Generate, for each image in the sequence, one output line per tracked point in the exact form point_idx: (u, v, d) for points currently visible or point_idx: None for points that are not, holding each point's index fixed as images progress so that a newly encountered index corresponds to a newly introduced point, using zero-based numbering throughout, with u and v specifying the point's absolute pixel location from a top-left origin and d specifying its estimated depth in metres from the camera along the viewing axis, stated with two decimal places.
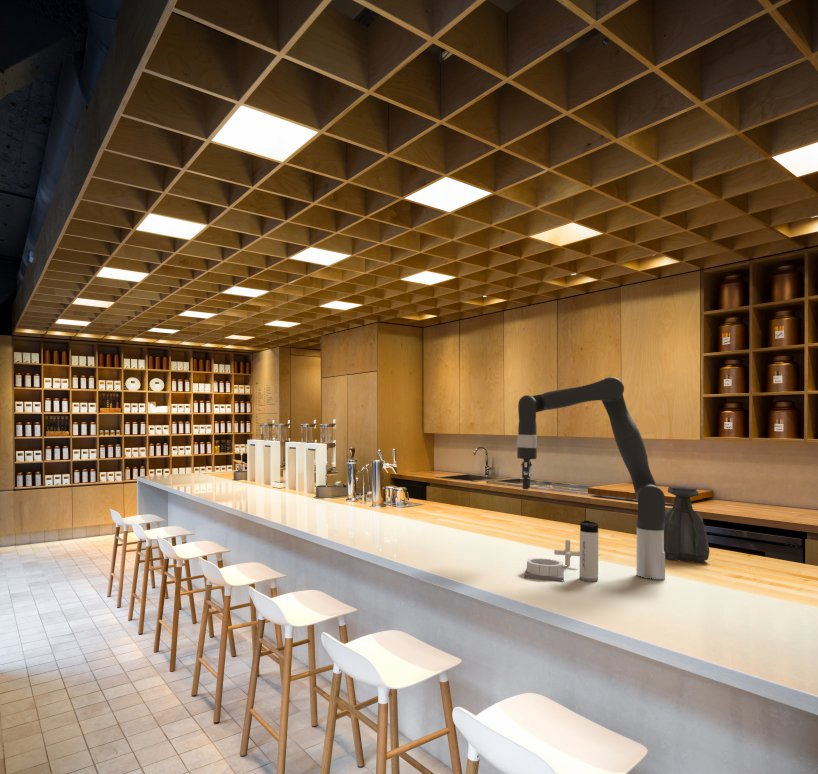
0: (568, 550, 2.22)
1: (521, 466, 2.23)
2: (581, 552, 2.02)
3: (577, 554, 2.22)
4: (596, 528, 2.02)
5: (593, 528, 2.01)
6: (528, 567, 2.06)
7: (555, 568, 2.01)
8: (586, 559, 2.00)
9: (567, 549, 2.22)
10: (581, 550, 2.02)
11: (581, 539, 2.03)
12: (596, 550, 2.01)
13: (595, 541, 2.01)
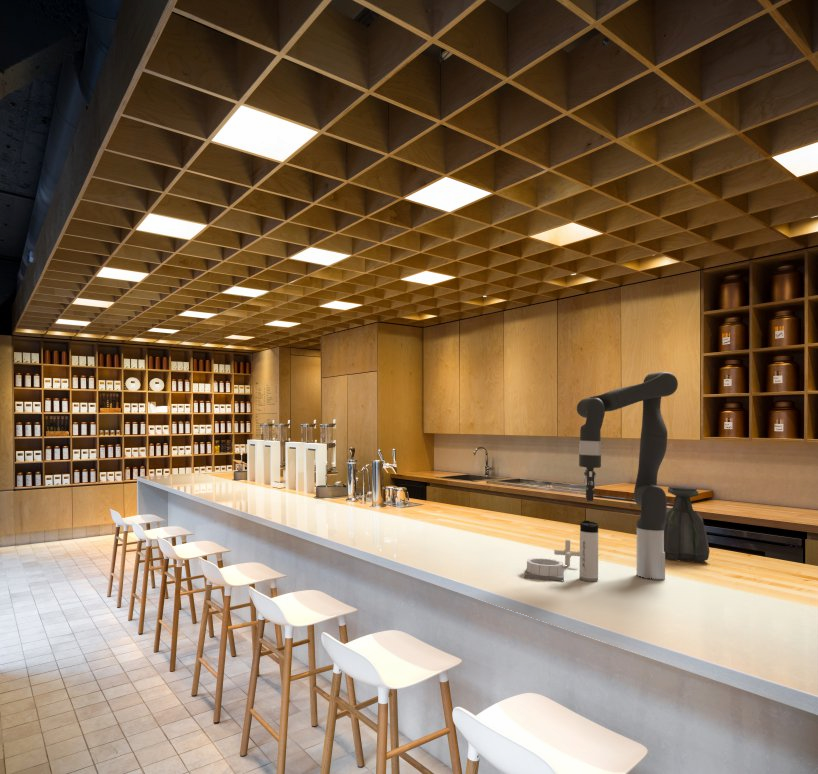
0: (568, 550, 2.22)
1: (584, 475, 2.04)
2: (581, 552, 2.02)
3: (577, 554, 2.22)
4: (596, 528, 2.02)
5: (593, 528, 2.01)
6: (528, 567, 2.06)
7: (555, 568, 2.01)
8: (586, 559, 2.00)
9: (567, 549, 2.22)
10: (581, 550, 2.02)
11: (581, 539, 2.03)
12: (596, 550, 2.01)
13: (595, 541, 2.01)
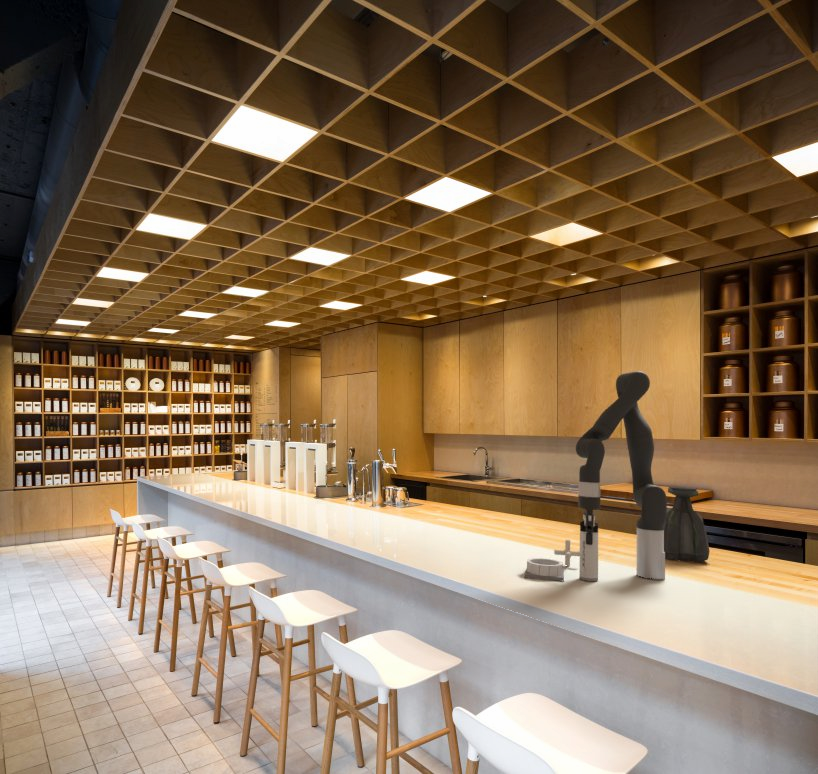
0: (568, 550, 2.22)
1: (583, 517, 2.03)
2: (581, 551, 2.02)
3: (577, 554, 2.22)
4: (596, 528, 2.02)
5: (593, 528, 2.01)
6: (528, 567, 2.06)
7: (555, 568, 2.01)
8: (586, 559, 2.00)
9: (567, 549, 2.22)
10: (581, 550, 2.02)
11: (581, 539, 2.03)
12: (596, 550, 2.01)
13: (595, 541, 2.01)
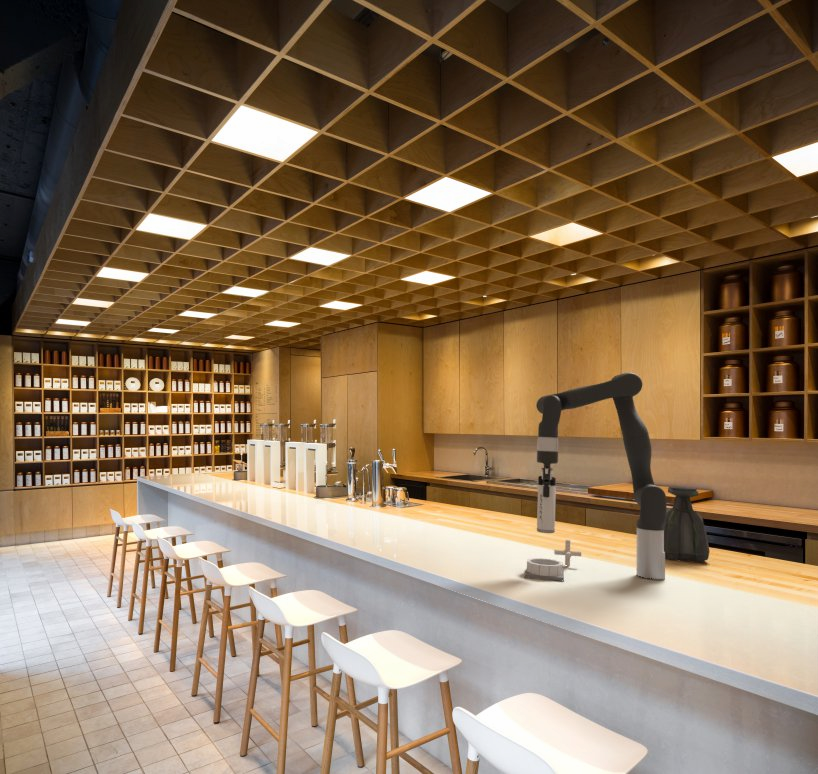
0: (568, 550, 2.22)
1: (541, 471, 2.08)
2: (538, 504, 2.08)
3: (577, 554, 2.22)
4: (553, 481, 2.07)
5: (550, 481, 2.06)
6: (528, 567, 2.06)
7: (555, 568, 2.01)
8: (543, 512, 2.06)
9: (567, 549, 2.22)
10: (538, 503, 2.08)
11: (539, 492, 2.08)
12: (553, 503, 2.06)
13: (552, 494, 2.06)
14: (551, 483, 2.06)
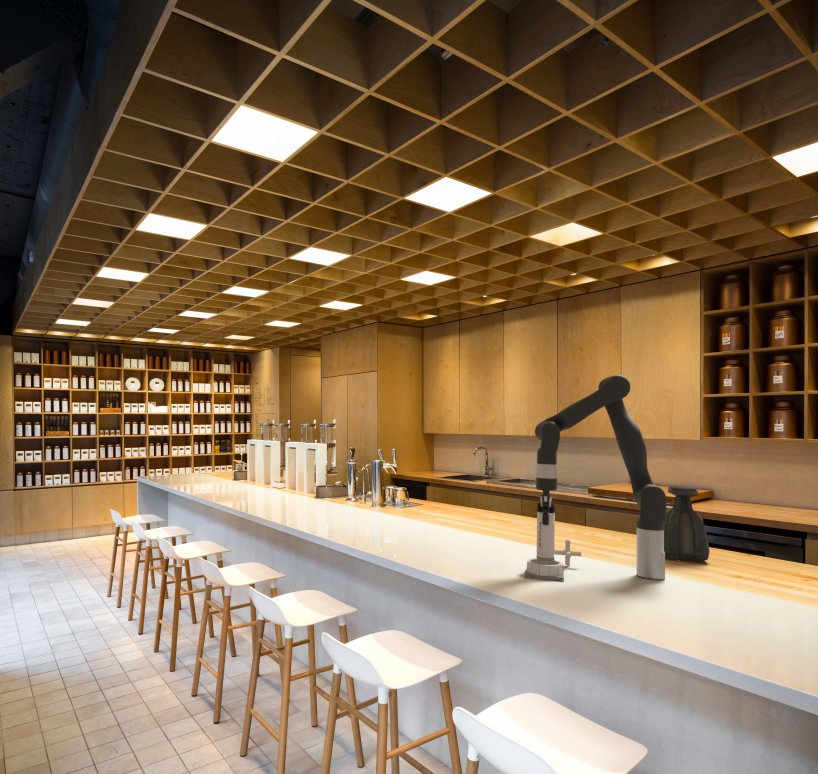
0: (568, 550, 2.22)
1: (540, 498, 2.07)
2: (538, 532, 2.07)
3: (577, 554, 2.22)
4: (552, 509, 2.06)
5: (549, 509, 2.06)
6: (528, 567, 2.06)
7: (555, 568, 2.01)
8: (542, 539, 2.05)
9: (567, 549, 2.22)
10: (538, 530, 2.07)
11: (538, 520, 2.07)
12: (552, 530, 2.05)
13: (551, 521, 2.05)
14: (550, 510, 2.06)
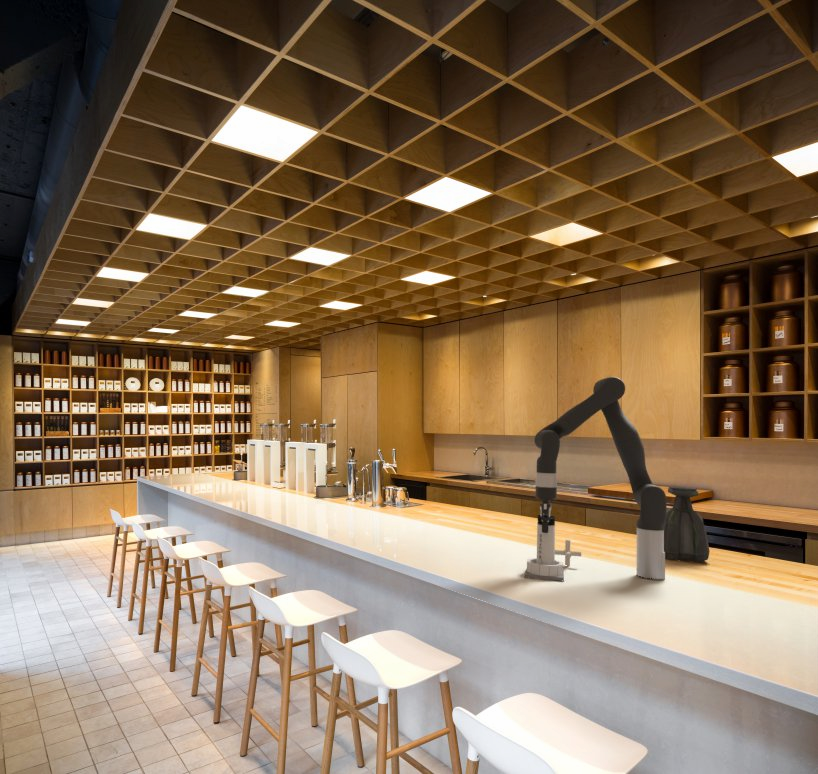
0: (568, 550, 2.22)
1: (540, 507, 2.07)
2: (538, 544, 2.07)
3: (577, 554, 2.22)
4: (552, 521, 2.06)
5: (549, 521, 2.05)
6: (528, 567, 2.06)
7: (555, 568, 2.01)
8: (542, 552, 2.05)
9: (567, 549, 2.22)
10: (538, 543, 2.07)
11: (538, 532, 2.07)
12: (552, 543, 2.05)
13: (551, 534, 2.05)
14: (550, 523, 2.05)
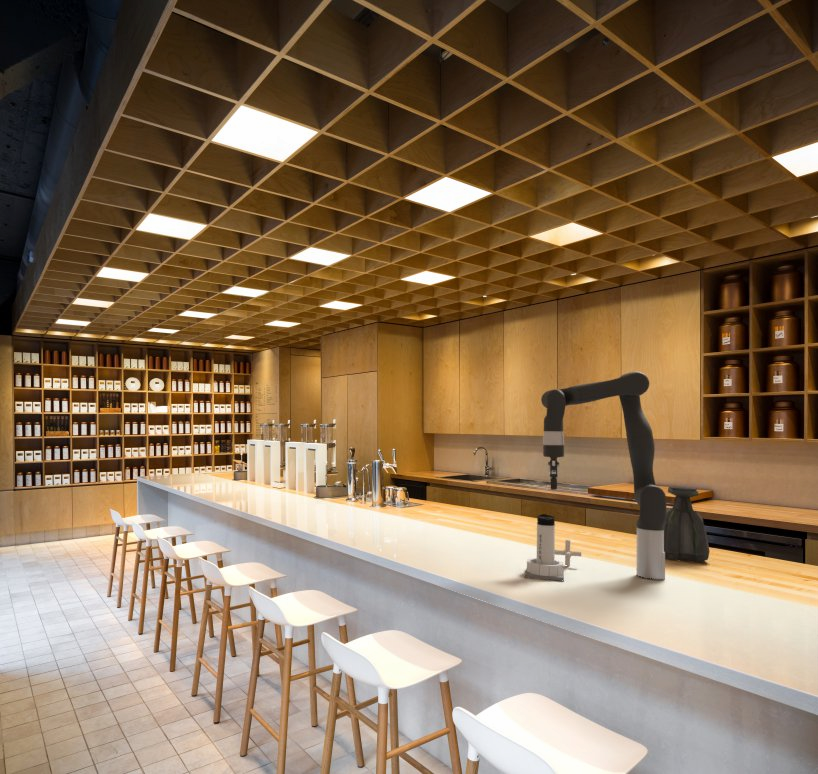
0: (568, 550, 2.22)
1: (548, 465, 2.10)
2: (538, 544, 2.06)
3: (577, 554, 2.22)
4: (552, 521, 2.06)
5: (549, 521, 2.05)
6: (528, 567, 2.06)
7: (555, 568, 2.01)
8: (542, 552, 2.05)
9: (567, 549, 2.22)
10: (538, 543, 2.07)
11: (538, 532, 2.07)
12: (552, 543, 2.05)
13: (551, 534, 2.05)
14: (550, 523, 2.05)
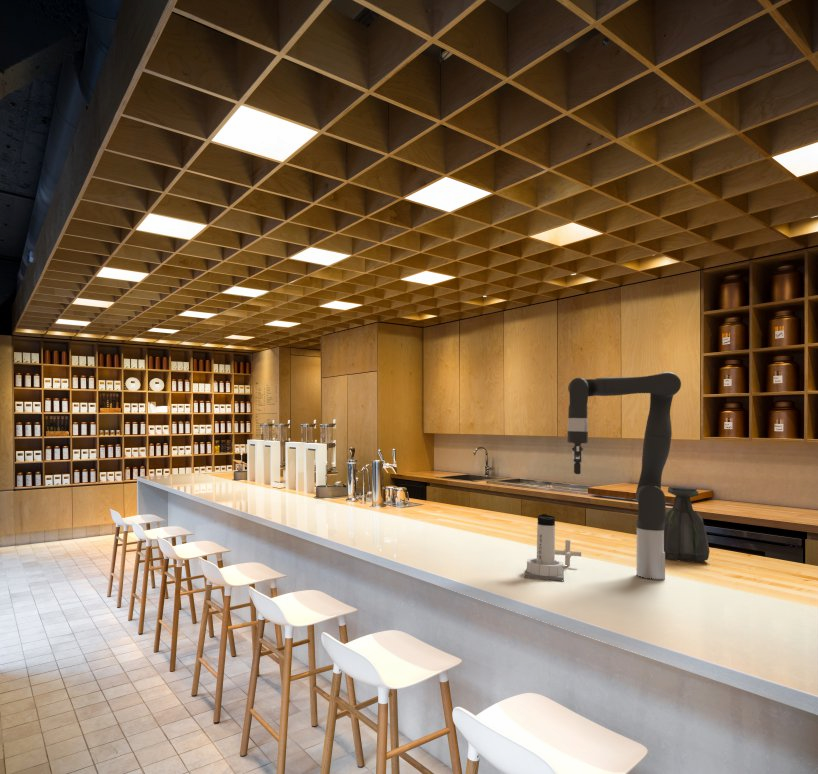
0: (568, 550, 2.22)
1: (572, 450, 2.17)
2: (538, 544, 2.06)
3: (577, 554, 2.22)
4: (552, 521, 2.06)
5: (549, 521, 2.05)
6: (528, 567, 2.06)
7: (555, 568, 2.01)
8: (542, 552, 2.05)
9: (567, 549, 2.22)
10: (538, 543, 2.07)
11: (538, 532, 2.07)
12: (552, 543, 2.05)
13: (551, 534, 2.05)
14: (550, 523, 2.05)
